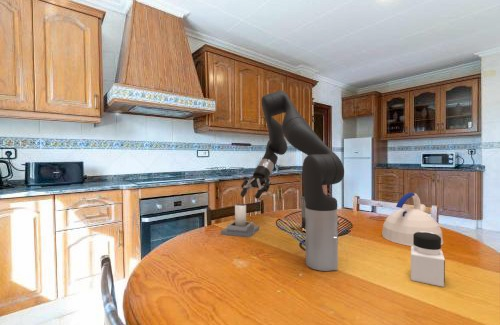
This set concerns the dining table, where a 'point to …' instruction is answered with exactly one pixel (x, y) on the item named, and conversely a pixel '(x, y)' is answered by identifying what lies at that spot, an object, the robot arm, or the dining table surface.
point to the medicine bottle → (427, 259)
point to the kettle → (409, 222)
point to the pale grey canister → (240, 215)
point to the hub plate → (240, 229)
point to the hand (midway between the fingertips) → (249, 196)
